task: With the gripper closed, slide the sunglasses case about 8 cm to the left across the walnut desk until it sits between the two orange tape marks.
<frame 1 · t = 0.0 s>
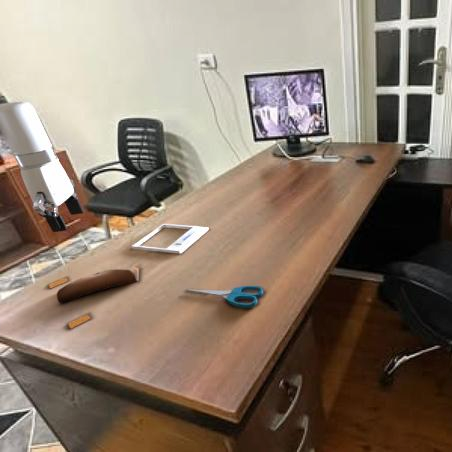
hand: (69, 221, 90), 17 cm above the table, tool pointing down, fingers open, 9 cm apart
photo frame: (171, 239, 113), on the table
tape marks: (67, 300, 89), on the table
scissors: (222, 295, 86), on the table
sunglasses case: (102, 286, 94), on the table
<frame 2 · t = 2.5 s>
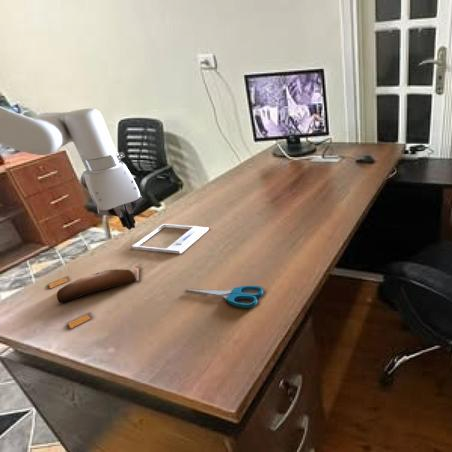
hand: (130, 227, 94), 13 cm above the table, tool pointing down, fingers closed
nothing on the table moved.
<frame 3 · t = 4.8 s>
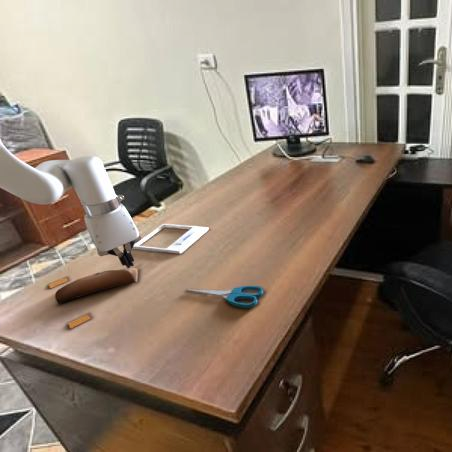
hand: (129, 265, 97), 2 cm above the table, tool pointing down, fingers closed
sunglasses case: (101, 287, 93), on the table, touching gripper
everything else where it was.
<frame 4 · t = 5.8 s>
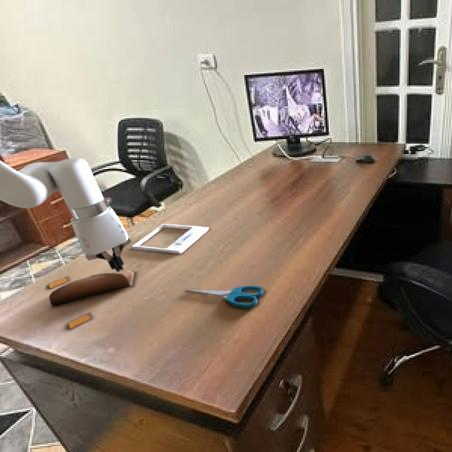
hand: (118, 268, 95), 3 cm above the table, tool pointing down, fingers closed
sunglasses case: (97, 289, 93), on the table, touching gripper
everything else where it was.
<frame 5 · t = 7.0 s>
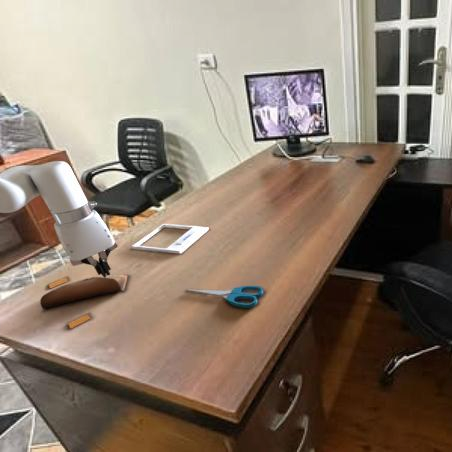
hand: (105, 274, 93), 3 cm above the table, tool pointing down, fingers closed
sunglasses case: (89, 293, 91), on the table, touching gripper
everything else where it was.
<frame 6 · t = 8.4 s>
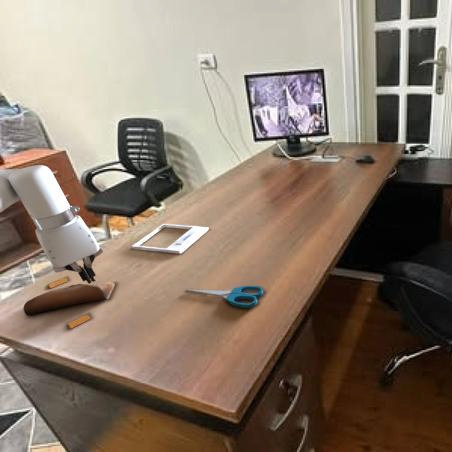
hand: (90, 280, 91), 3 cm above the table, tool pointing down, fingers closed
sunglasses case: (75, 300, 89), on the table, touching gripper
everything else where it was.
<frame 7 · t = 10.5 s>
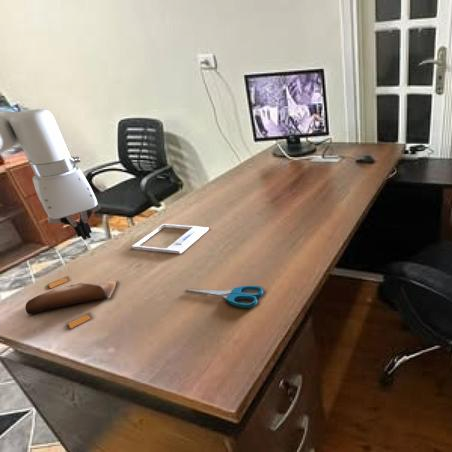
hand: (86, 237, 88), 14 cm above the table, tool pointing down, fingers closed
sunglasses case: (76, 299, 90), on the table
everything else where it was.
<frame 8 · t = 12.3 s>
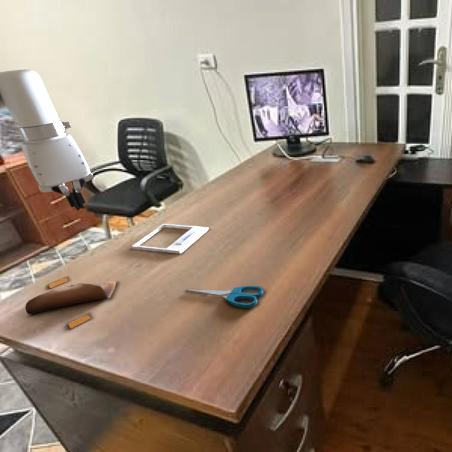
hand: (79, 207, 85), 22 cm above the table, tool pointing down, fingers closed
nothing on the table moved.
at the end: sunglasses case inside the target area (1.7 cm from its centre), on the table; sunglasses case moved 6.3 cm from its start; the gripper is holding nothing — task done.
